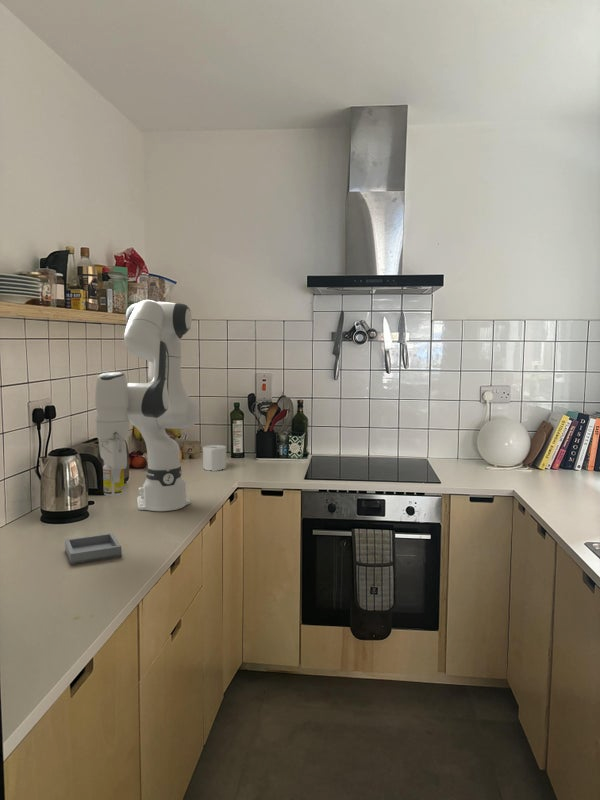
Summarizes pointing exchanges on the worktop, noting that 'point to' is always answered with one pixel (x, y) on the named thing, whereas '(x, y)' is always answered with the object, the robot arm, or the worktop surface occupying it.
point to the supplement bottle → (109, 485)
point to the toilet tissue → (214, 457)
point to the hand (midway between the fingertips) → (113, 479)
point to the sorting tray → (92, 548)
